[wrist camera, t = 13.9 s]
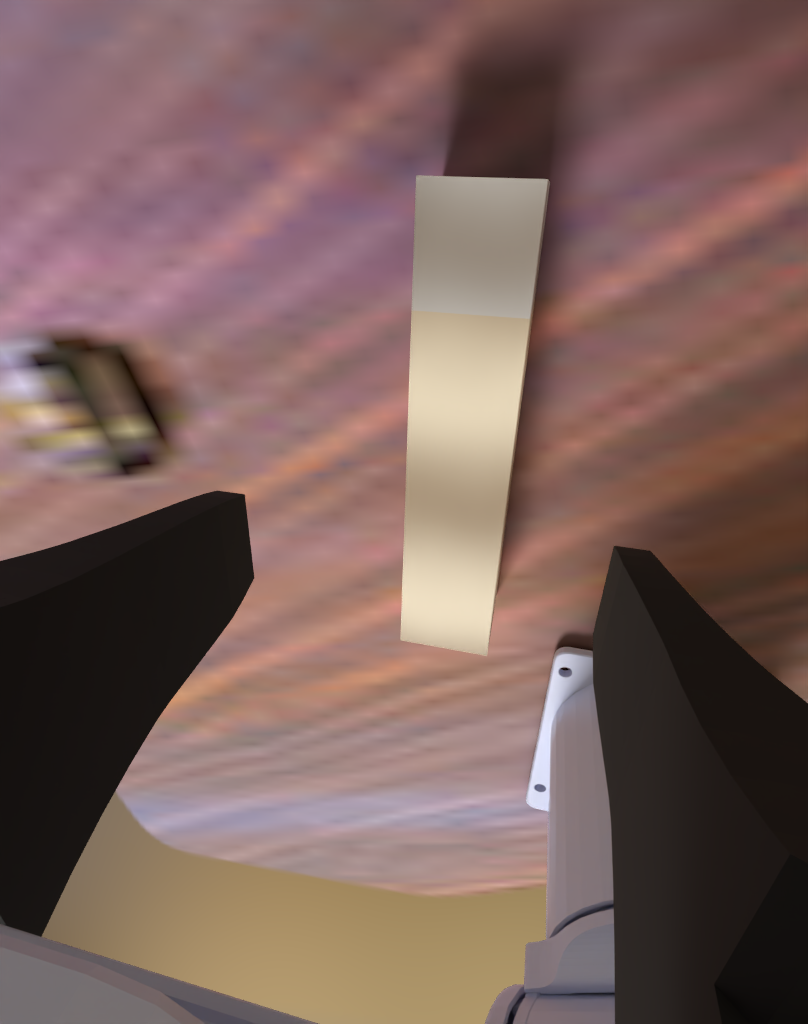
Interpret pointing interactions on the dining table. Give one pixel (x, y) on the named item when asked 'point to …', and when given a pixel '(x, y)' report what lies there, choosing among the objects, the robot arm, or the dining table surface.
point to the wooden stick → (465, 396)
